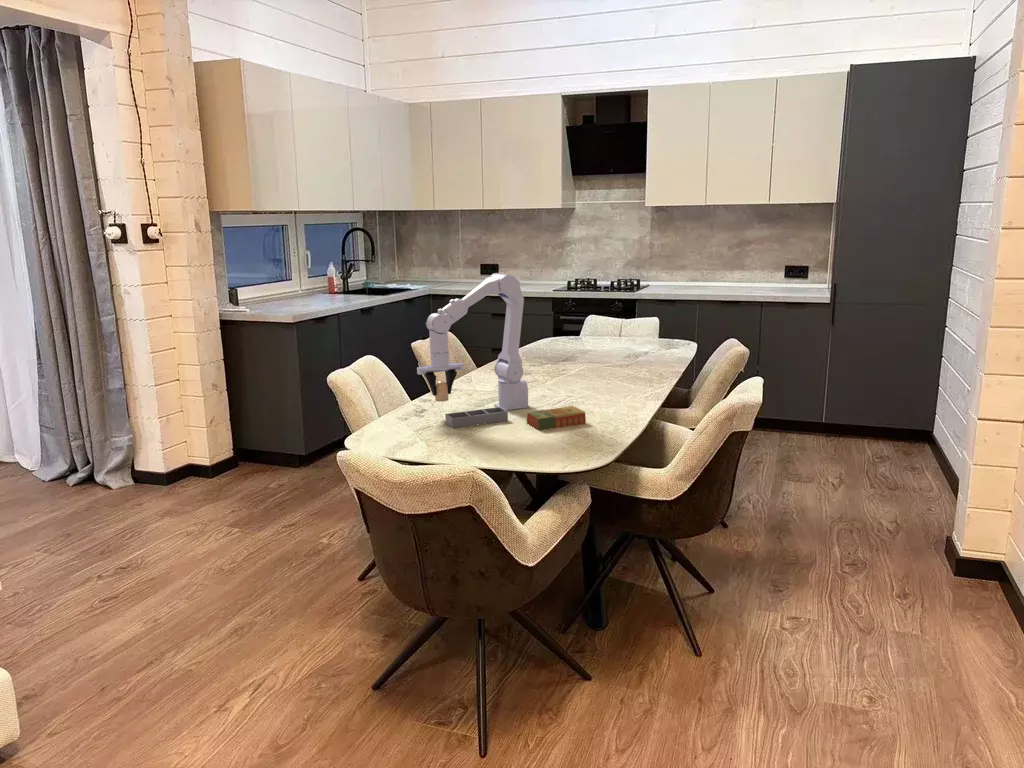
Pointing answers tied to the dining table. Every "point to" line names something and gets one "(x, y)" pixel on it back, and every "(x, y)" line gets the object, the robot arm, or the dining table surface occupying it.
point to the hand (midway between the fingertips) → (441, 394)
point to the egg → (441, 391)
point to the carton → (556, 418)
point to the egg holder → (476, 417)
